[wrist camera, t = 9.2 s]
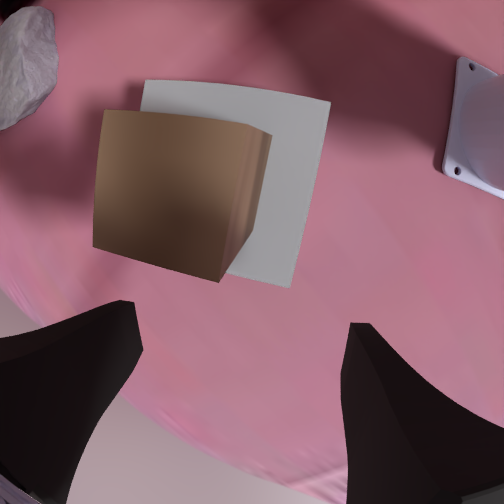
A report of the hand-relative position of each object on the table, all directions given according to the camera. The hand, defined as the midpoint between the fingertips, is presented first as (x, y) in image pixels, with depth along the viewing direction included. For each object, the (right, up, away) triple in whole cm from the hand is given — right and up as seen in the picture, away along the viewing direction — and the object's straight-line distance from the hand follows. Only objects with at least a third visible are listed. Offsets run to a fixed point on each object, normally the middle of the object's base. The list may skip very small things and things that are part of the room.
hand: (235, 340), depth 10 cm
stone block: (-20, +18, +9) cm, 29 cm away
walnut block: (-1, +6, +4) cm, 8 cm away
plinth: (0, +7, +8) cm, 11 cm away
